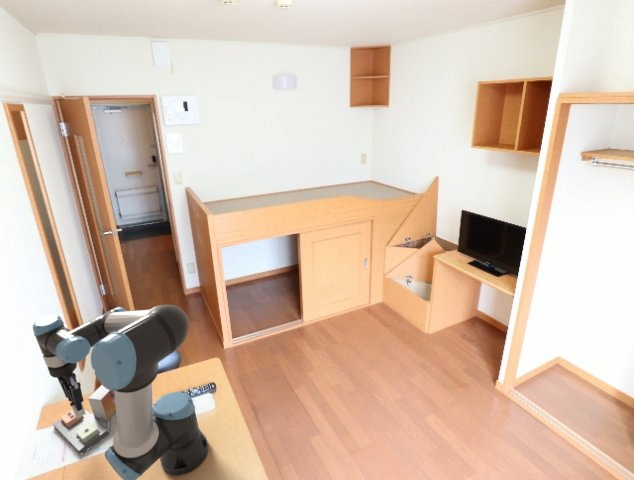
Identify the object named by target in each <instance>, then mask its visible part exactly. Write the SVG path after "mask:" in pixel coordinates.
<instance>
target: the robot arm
mask: <svg viewBox="0 0 634 480" xmlns="http://www.w3.org/2000/svg"><path fill="white" fill-rule="evenodd" d="M32 330H33V334H34V337H35V339H36V342H37V344H38V346H39V350H40V352H41V355H42V357H43V361H44V362H45V365H46V367H47V370H48V374H49V375H50V376H51V377H52V378H56V379H57V380H58V383H59V385H60V387H61V389H62V391H63V393H64V396H65V398H67V400H68V401H69V402H70V403H69V406H70V407H71V410H72V409H73V412H74V414H75V417H76V418H77V419H78V418H80V417H81V416H83V415H84V414H86V413H85V410H86V409H85V407H84V405H83V402H84V401H85V400H84V397H83V392H82V389H81V386H82V385H81V382H80V381H78V380H77V375H76V373H75V372H74V371H75V370H76V368H77V366H78V363H80V362H82V361H83V360H84V359H85V358H86V357H87V355H89V353H90V363H91V368H92V370H94V375H95V377H96V378H97V381H98V382H99V384H101V385H103V386H104V387H105V388H106V389H108V390H111V391H114V396H115V405H116V412H115V414H116V423H117V430H116V431H115V433H114V436H113V441H112V446H109V447H108V449H106V450H105V452H104V458H105V459H106V461H107V463H108V464H109V465H110V467H111V468H112V469H113V471H115V473H116V474H117V475H118V476H119V477H120V478H121V479H122V480H138V479H139V478H140V477H142V476H143V474H144V473H146V471H148V470H149V468H150V467H152V466H153V465H154V464H155V463H156V462H157V461H158V460H159V459H160V465H161V468H162V469H163V471H164V472H165V473H167V474H169V475H172V476H181V475H183V476H184V475H185V474H189V473H191V472H192V471H193V472H194V470H196V469H197V468H198V467H200V465H201V464H203V462H204V461H205V459H206V458H207V455H208V452H209V443H208V440H207V437H206V435H205V434H204V432H202V430H201V429H200V427H199V422H198V418H197V415H196V414H197V413H196V406H195V404H194V401H193V398H192V397H191V396H190V395H189V394H188V393H185V392H180V391H177V392H169V393H166V394H164V395H161V397H159V398H158V399H157V400H156V401H154V404H153V383H154V381H155V380H156V379H157V377H158V373H159V363H160V362H162V361H163V360H165V359H166V358H167V357H169V356H170V355H172V354H173V353H174V352H176V351H177V350H179V349H180V347H181V346H182V345H183V344H185V341H186V339H187V338H188V335H189V331H190V322H189V318H188V315H187V314H186V312H185V311H184V310H183V309H182V308H181V307H180V306H177V305H174V304H159V305H155V306H154V307H152V308H151V309H140V310H127V309H126V308H124V307H122V306H117V307H115V308H113V309H109V310H108V311H107V312H105V313H102V314H101V315H99V316H97V317H95V318H93V319H91V320H89V321H87V322H85V323H82V324H80V325H78V326H77V327H75V328H73V329H69V328H67V327H65V322H64V321H63V320H62V317H61V315H57V314H50V315H45V316H42V317H41V318H39V319H37V320H36V321H35V322H34V323H33V324H32ZM91 348H92V349H91ZM77 381H78V382H77ZM84 409H85V410H84Z"/></svg>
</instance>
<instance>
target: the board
mask: <svg viewBox="0 0 634 480" xmlns="http://www.w3.org/2000/svg"><path fill="white" fill-rule="evenodd" d="M84 410H85V413H86V414H84V415H83V416H82V417H83V419H81V420H80V421H78V422H77V423H75V424H74V425H72V426H71V427H69V428H67V427H66V426H65V425H64V424H63V422H62V420H61V418H60V419H58V420H57V421H55V422H54V423H52V425H53V428H54V429H55V431H57V433H58V434H60V436H62V438H63V439H64V440H65V441H66V442H67V443H68V444H69V445H70V446H71V447H72V448H73V450H75V452H77V453H78V454H79V455H80V454H81V453H82V454H83V452H84V451H85V452H87V451H88V450H89V449H91V448H92V447H94V446H95V445H97V444H98V443H99V442H101V441H102V440H103V439H104V438H106V437H107V436H109V435H110V431H109V429H108V428H107V427H105V426H104V424H103V423H101V422H100V420H97V419H95V417H94V415H92V414H91V413H90V412H89V411H88V410H87V409H86V408H84ZM90 422H91V423H92V424H93V425H94V426H95V427H96V428H97V429H98V432H99V434H98V435H96V436H95V437H94V438H92V439H91V440H89V441H88V442H87V443H85V444H83V443H82V442H81V441H80V440H78V437H77V434H76V432H77V431H78V430H80V429H81V428H83V427H84V426H86V425H87V424H89V423H90ZM94 444H95V445H94ZM91 446H92V447H91ZM90 447H91V448H90ZM88 448H89V449H88ZM87 449H88V450H87ZM86 450H87V451H86ZM85 452H84V453H85ZM82 454H81V455H82Z"/></svg>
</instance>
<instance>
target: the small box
mask: <svg viewBox="0 0 634 480" xmlns="http://www.w3.org/2000/svg"><path fill="white" fill-rule="evenodd" d="M87 400H88V402H89V405H90V408H91V411H92V413H93V417H94V418H95V419H97V420H98V421H103V422H108V421H109V420H111V418H112V417H113V416H114V414H116V405H115V396H114V391H111V390H108V389H106V388H105V387H104V386H103V385H102V384H101V385H99V387H98V388H97V389H96V390H95V391H94V392H93V393H92V394H91V395H90V396H89V397H88V399H87Z"/></svg>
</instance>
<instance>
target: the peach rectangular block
mask: <svg viewBox="0 0 634 480" xmlns="http://www.w3.org/2000/svg"><path fill="white" fill-rule="evenodd" d="M60 419H61V420H62V422H63V425H64V426H65V427H66V428H67V429H68V428H69V427H71V426H72V425H74V424H75V423H77V422H78V421H80V420H81V419H83V417H82V416H81V417H80V418H78V419H77V418H76V417H75V414H74V412H73V409H72V408H71V410H69V411H68V412H66V413H65V414H63V415H61V416H60Z"/></svg>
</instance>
